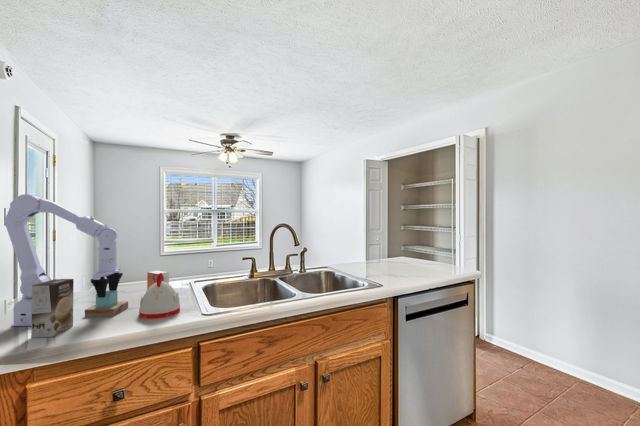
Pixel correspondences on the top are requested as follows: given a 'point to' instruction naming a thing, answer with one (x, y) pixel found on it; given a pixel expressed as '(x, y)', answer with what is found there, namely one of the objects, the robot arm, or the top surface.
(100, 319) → the top surface
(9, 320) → the top surface
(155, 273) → the small box
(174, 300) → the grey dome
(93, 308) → the walnut block
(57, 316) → the coffee box
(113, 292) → the teal cube
